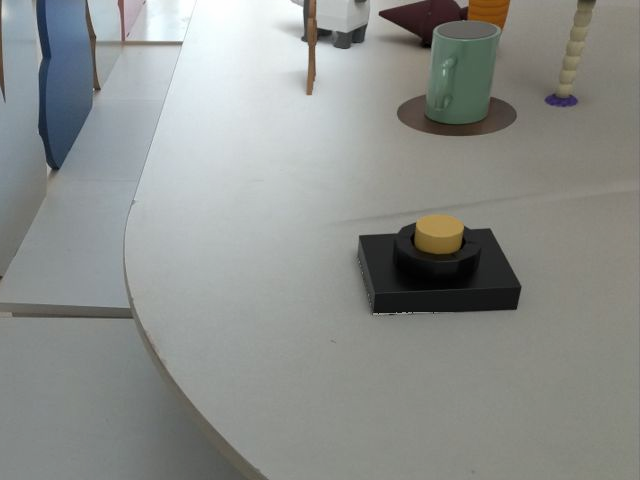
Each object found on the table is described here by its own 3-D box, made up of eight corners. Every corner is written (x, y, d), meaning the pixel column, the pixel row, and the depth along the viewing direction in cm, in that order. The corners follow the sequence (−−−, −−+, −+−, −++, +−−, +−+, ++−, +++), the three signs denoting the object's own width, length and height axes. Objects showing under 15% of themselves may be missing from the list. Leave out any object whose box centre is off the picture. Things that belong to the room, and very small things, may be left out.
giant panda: (373, 40, 114) (378, -31, 108) (350, 51, 112) (353, -21, 106) (295, 25, 123) (296, -41, 118) (272, 35, 121) (271, -32, 115)
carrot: (494, 76, 99) (515, -54, 90) (454, 72, 102) (470, -55, 92) (504, 63, 102) (525, -64, 93) (465, 60, 105) (482, -65, 96)
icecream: (373, 3, 107) (487, 17, 102) (388, -25, 111) (499, -13, 106) (369, 49, 113) (477, 65, 107) (383, 21, 116) (488, 34, 111)
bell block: (486, 250, 68) (493, 209, 66) (516, 310, 61) (526, 266, 59) (357, 256, 69) (360, 216, 67) (372, 316, 62) (376, 273, 60)
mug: (437, 97, 92) (446, 17, 87) (496, 106, 89) (510, 23, 83) (404, 129, 86) (412, 45, 81) (466, 139, 83) (478, 52, 77)
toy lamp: (588, 107, 89) (627, -54, 79) (579, 123, 86) (619, -43, 76) (544, 102, 92) (576, -55, 81) (533, 117, 89) (565, -45, 78)
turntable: (497, 98, 94) (499, 88, 93) (531, 142, 84) (533, 132, 83) (386, 105, 95) (387, 96, 94) (406, 150, 85) (407, 140, 84)
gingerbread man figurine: (299, 82, 104) (300, -15, 97) (329, 81, 103) (332, -17, 96) (292, 107, 97) (293, 6, 90) (324, 107, 96) (327, 4, 89)
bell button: (455, 232, 64) (458, 212, 63) (465, 254, 61) (469, 235, 60) (410, 234, 65) (412, 215, 64) (418, 257, 62) (421, 238, 61)
